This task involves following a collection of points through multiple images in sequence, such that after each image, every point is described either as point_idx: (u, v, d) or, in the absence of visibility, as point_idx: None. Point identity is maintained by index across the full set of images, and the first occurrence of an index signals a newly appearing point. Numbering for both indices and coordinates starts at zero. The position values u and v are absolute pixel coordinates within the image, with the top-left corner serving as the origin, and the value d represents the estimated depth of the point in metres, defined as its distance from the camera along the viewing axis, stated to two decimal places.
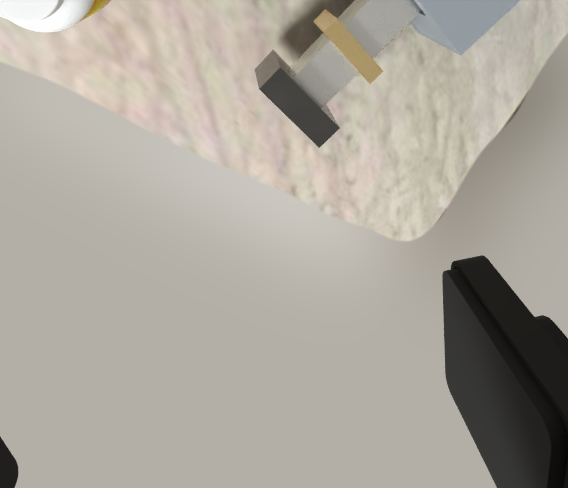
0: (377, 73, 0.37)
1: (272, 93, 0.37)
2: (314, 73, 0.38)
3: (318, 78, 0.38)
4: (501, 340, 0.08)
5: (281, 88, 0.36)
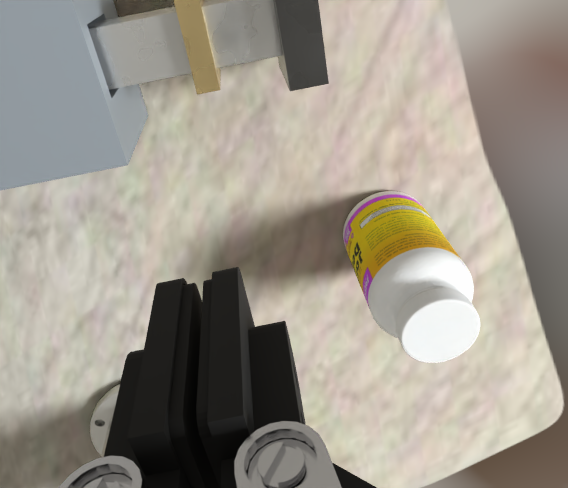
0: None
1: (318, 68, 0.27)
2: (255, 43, 0.28)
3: (254, 33, 0.28)
4: (206, 343, 0.09)
5: (304, 66, 0.27)
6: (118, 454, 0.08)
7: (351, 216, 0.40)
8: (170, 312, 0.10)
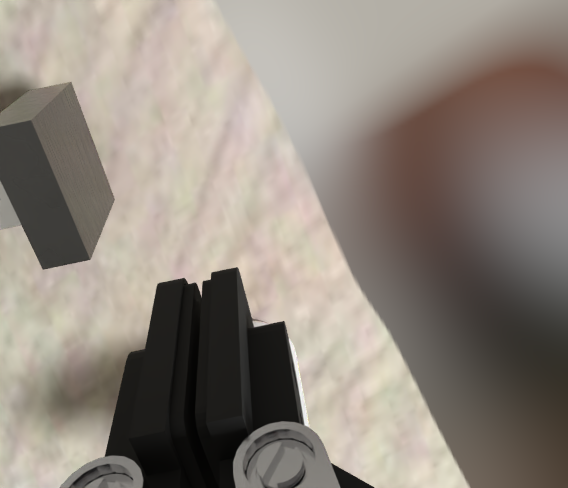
0: None
1: (73, 244, 0.22)
2: (1, 210, 0.23)
3: None
4: (205, 344, 0.09)
5: (55, 243, 0.22)
6: (119, 454, 0.08)
7: None
8: (171, 312, 0.10)
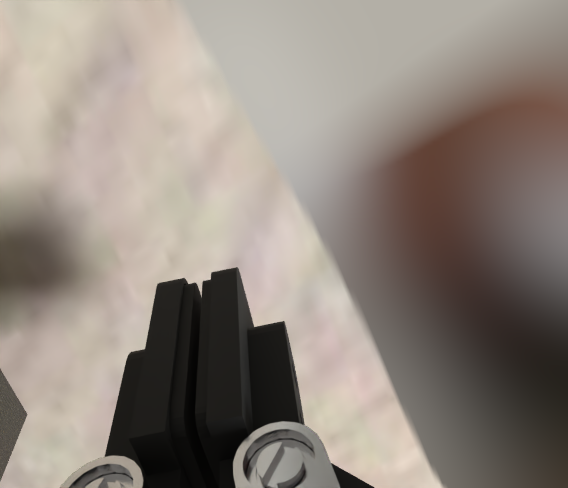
0: None
1: None
2: None
3: None
4: (205, 344, 0.09)
5: None
6: (119, 454, 0.08)
7: None
8: (171, 312, 0.10)
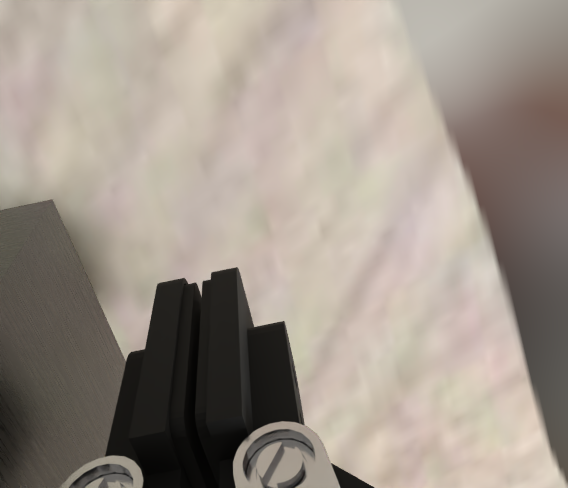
0: None
1: None
2: None
3: None
4: (205, 344, 0.09)
5: None
6: (119, 454, 0.08)
7: None
8: (171, 312, 0.10)
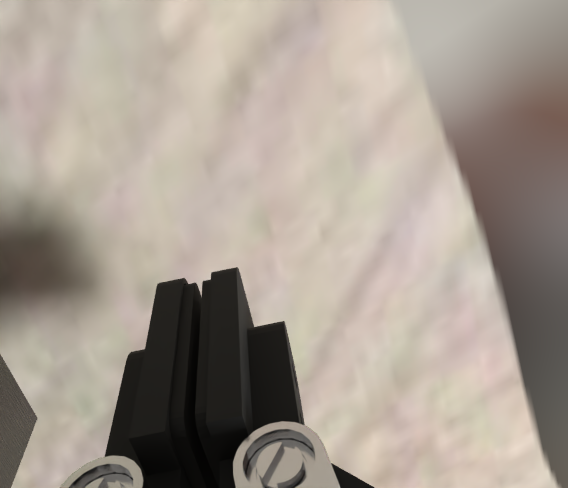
0: None
1: None
2: None
3: None
4: (205, 344, 0.09)
5: None
6: (119, 454, 0.08)
7: None
8: (171, 312, 0.10)
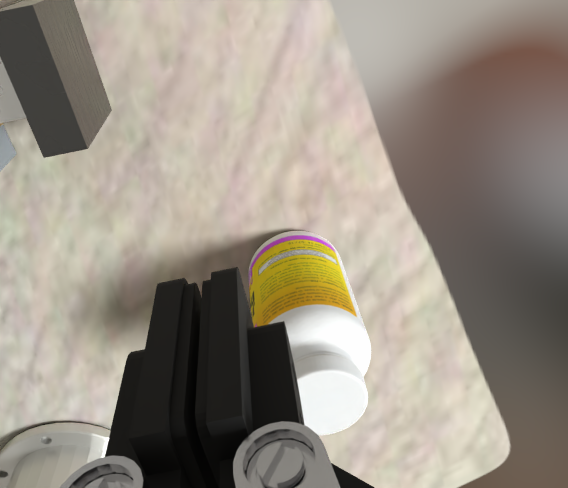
0: None
1: (71, 132, 0.24)
2: (4, 103, 0.24)
3: (1, 92, 0.24)
4: (205, 344, 0.09)
5: (55, 130, 0.24)
6: (119, 454, 0.08)
7: (254, 259, 0.36)
8: (171, 312, 0.10)
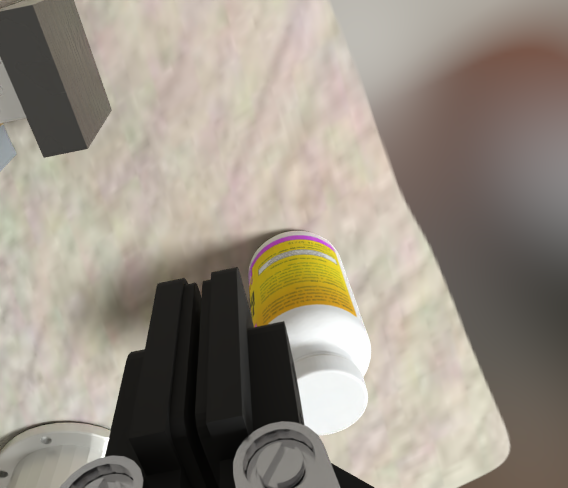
0: None
1: (71, 132, 0.24)
2: (5, 102, 0.24)
3: (1, 92, 0.24)
4: (205, 344, 0.09)
5: (55, 130, 0.24)
6: (119, 454, 0.08)
7: (254, 259, 0.36)
8: (171, 312, 0.10)
